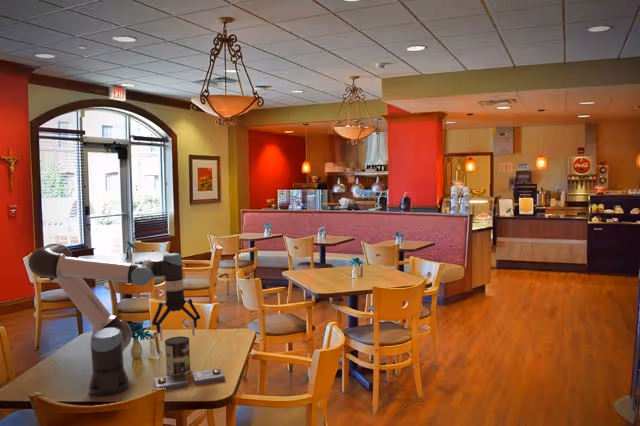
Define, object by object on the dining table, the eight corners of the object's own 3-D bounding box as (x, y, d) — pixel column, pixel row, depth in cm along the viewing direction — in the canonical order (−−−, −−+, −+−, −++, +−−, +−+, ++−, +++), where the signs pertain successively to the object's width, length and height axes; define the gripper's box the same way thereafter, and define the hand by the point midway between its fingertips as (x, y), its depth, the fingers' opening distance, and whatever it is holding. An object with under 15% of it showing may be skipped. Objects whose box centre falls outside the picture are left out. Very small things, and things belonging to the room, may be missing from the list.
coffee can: (194, 367, 234) (193, 336, 233) (184, 376, 224) (182, 344, 223) (173, 366, 236) (171, 335, 235) (161, 375, 226) (160, 343, 225)
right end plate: (195, 385, 214) (194, 378, 214) (191, 376, 224) (191, 370, 223) (224, 380, 219) (224, 373, 218) (220, 372, 228) (219, 365, 228)
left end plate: (156, 392, 209) (156, 384, 209) (154, 382, 218) (154, 375, 218) (187, 386, 213) (187, 379, 213) (184, 378, 222) (184, 371, 222)
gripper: (144, 294, 219) (148, 344, 221) (205, 287, 228) (208, 335, 230) (143, 291, 226) (147, 339, 228) (202, 284, 235) (205, 331, 237)
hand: (177, 337), depth 229 cm, fingers open, 13 cm apart
